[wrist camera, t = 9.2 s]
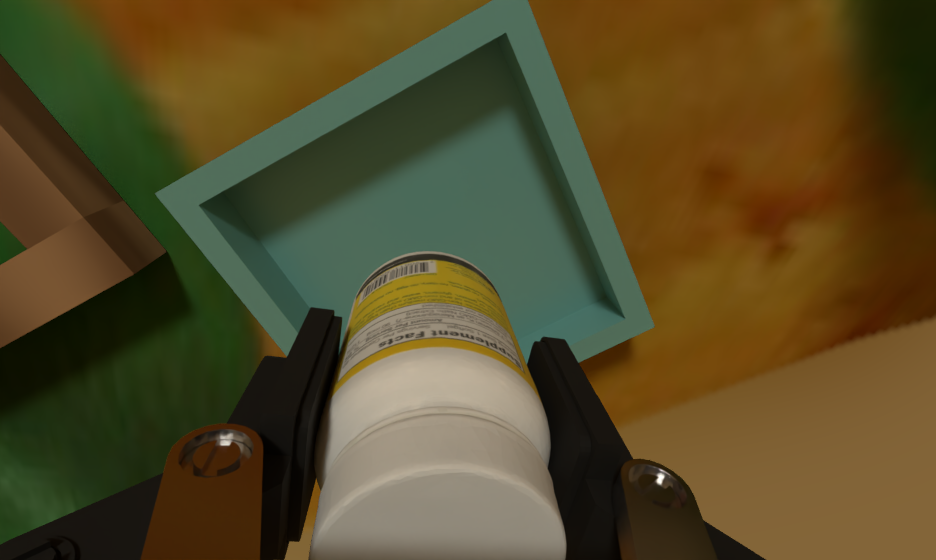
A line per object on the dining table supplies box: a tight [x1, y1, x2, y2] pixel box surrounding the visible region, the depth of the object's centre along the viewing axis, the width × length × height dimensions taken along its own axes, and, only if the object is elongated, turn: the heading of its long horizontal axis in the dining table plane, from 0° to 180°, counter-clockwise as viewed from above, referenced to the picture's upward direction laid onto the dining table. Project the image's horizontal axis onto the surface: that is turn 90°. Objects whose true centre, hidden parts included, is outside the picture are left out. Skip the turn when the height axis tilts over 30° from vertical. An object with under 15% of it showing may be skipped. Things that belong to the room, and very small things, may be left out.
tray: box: [155, 0, 655, 364], centre depth 20 cm, size 14×14×3 cm
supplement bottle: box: [309, 251, 566, 560], centre depth 11 cm, size 5×5×8 cm
